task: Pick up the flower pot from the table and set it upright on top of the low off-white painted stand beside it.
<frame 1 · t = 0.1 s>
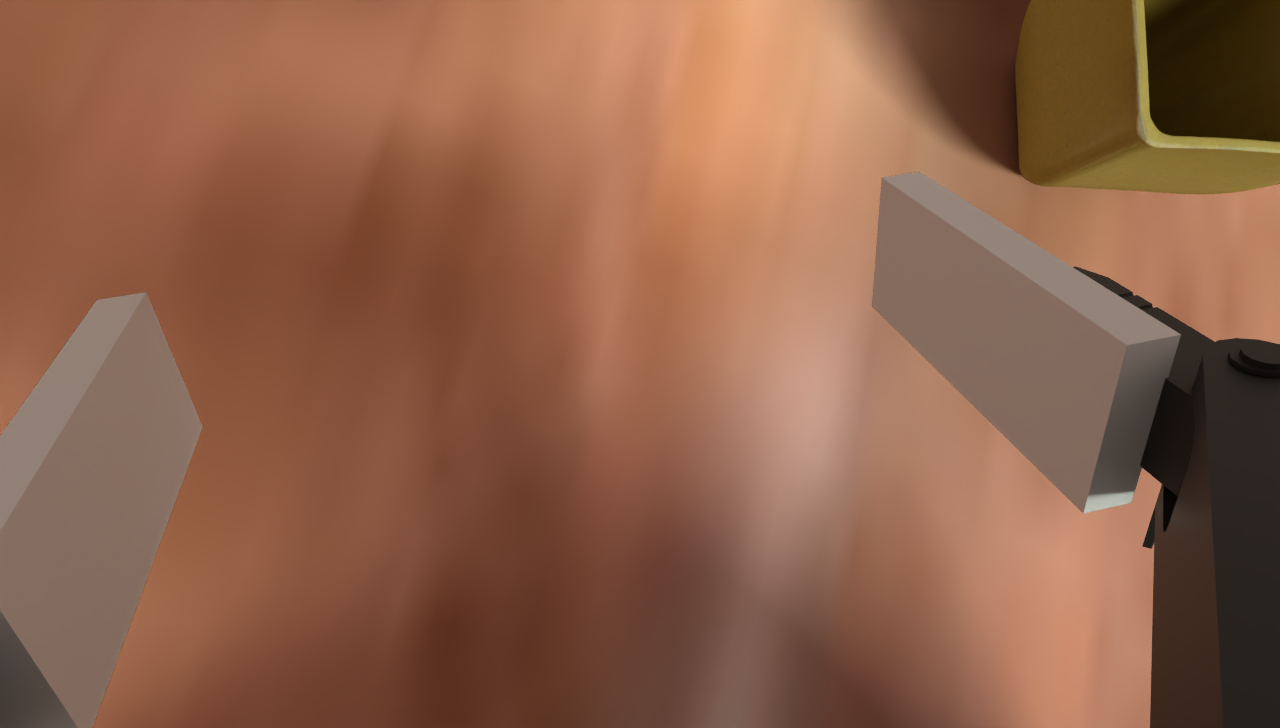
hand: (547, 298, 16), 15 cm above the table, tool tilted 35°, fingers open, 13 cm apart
flower pot: (1071, 124, 35), on the table
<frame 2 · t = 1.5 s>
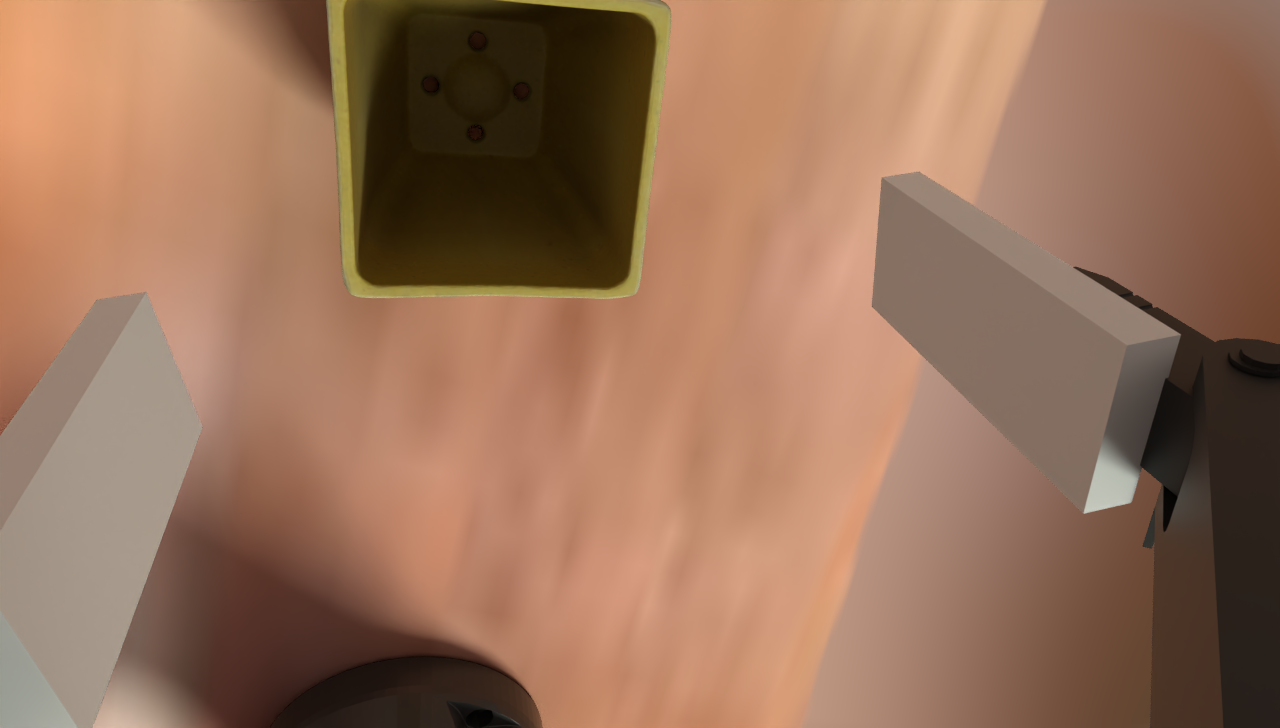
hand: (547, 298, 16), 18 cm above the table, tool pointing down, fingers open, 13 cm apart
flower pot: (480, 83, 31), on the table
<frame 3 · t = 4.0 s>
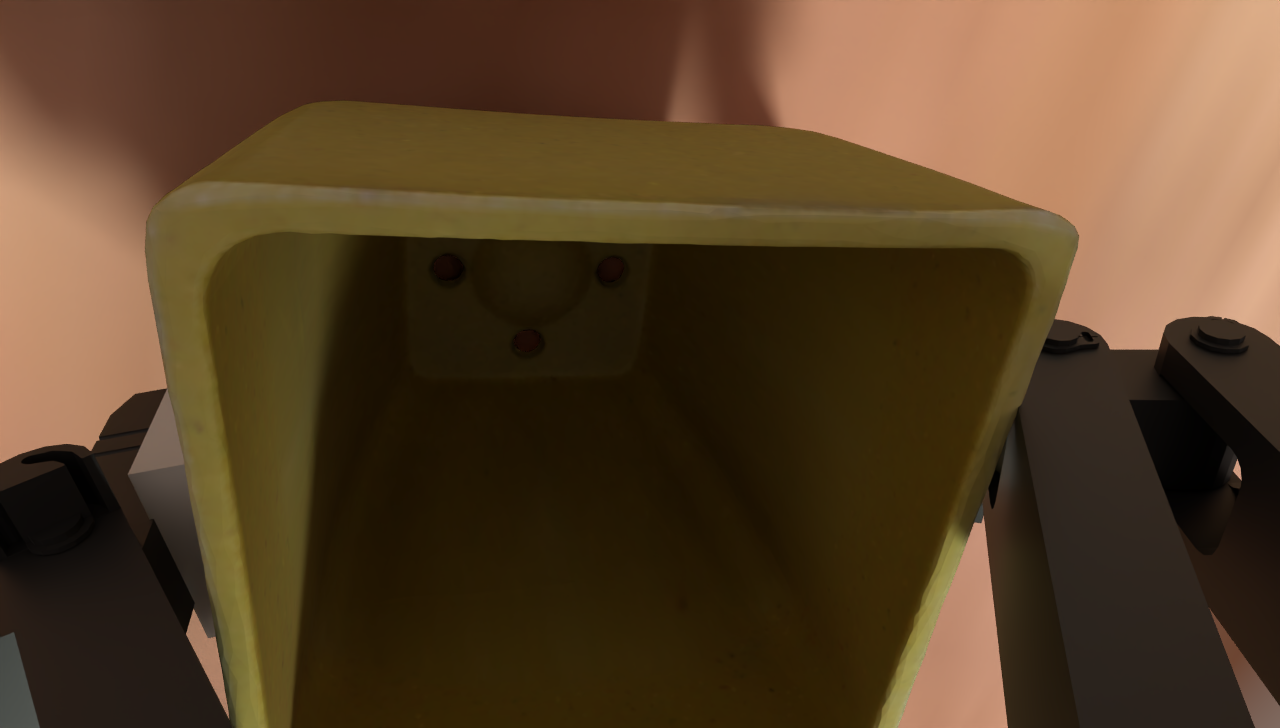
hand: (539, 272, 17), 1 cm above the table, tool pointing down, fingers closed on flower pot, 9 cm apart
flower pot: (535, 257, 17), on the table, touching gripper
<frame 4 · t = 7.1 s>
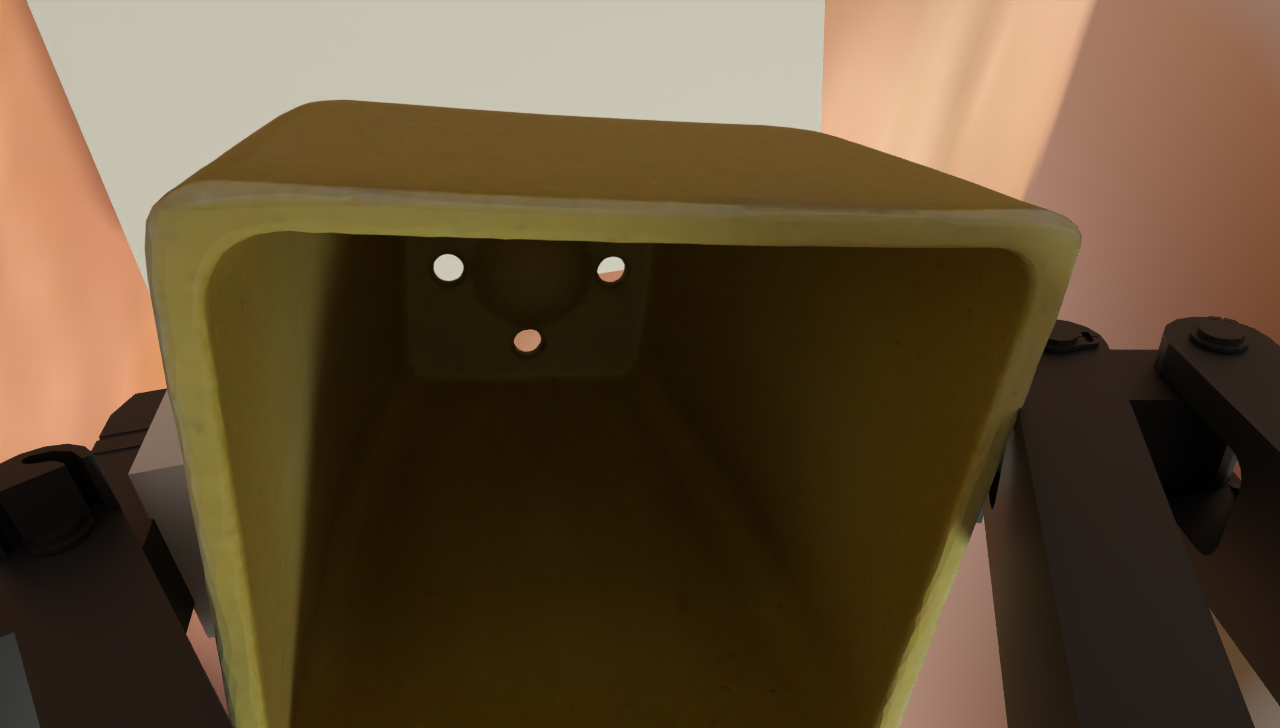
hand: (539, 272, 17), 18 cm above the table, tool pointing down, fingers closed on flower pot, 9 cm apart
flower pot: (536, 257, 17), point 17 cm above the table, touching gripper
white stand: (472, 72, 32), on the table
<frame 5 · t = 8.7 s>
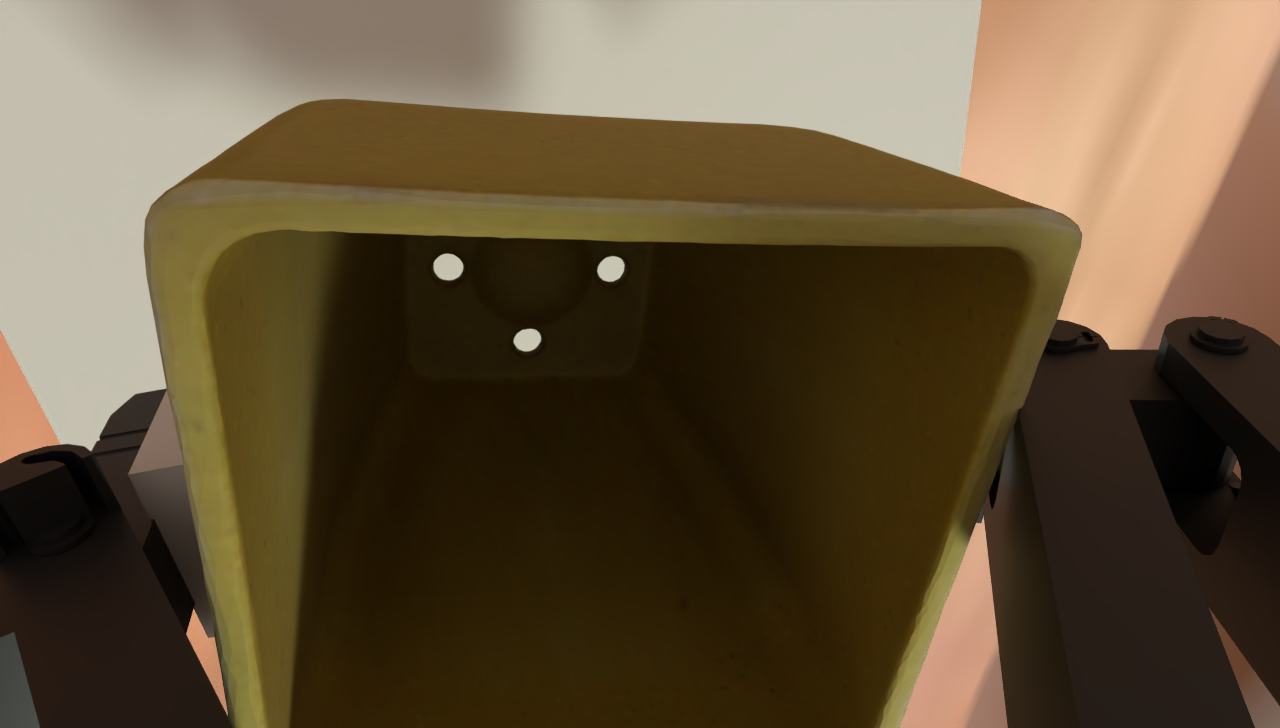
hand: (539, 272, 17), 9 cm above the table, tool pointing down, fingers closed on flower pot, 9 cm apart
flower pot: (536, 256, 17), point 8 cm above the table, touching gripper
white stand: (499, 148, 24), on the table
when the fingers open (6 cm above the table, at t = 10.2 s): flower pot drops 1 cm, resting on white stand.
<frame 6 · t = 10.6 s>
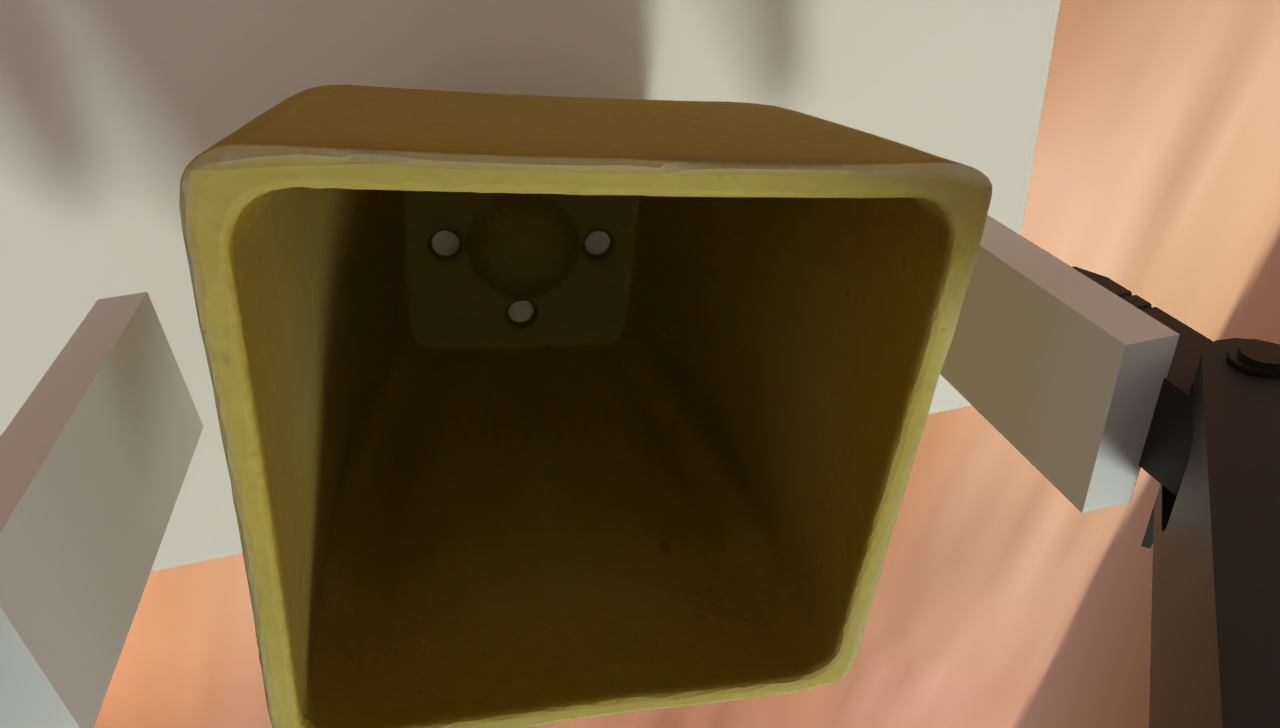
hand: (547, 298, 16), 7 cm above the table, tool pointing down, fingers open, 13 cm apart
flower pot: (527, 232, 19), point 4 cm above the table, touching white stand
white stand: (510, 175, 22), on the table
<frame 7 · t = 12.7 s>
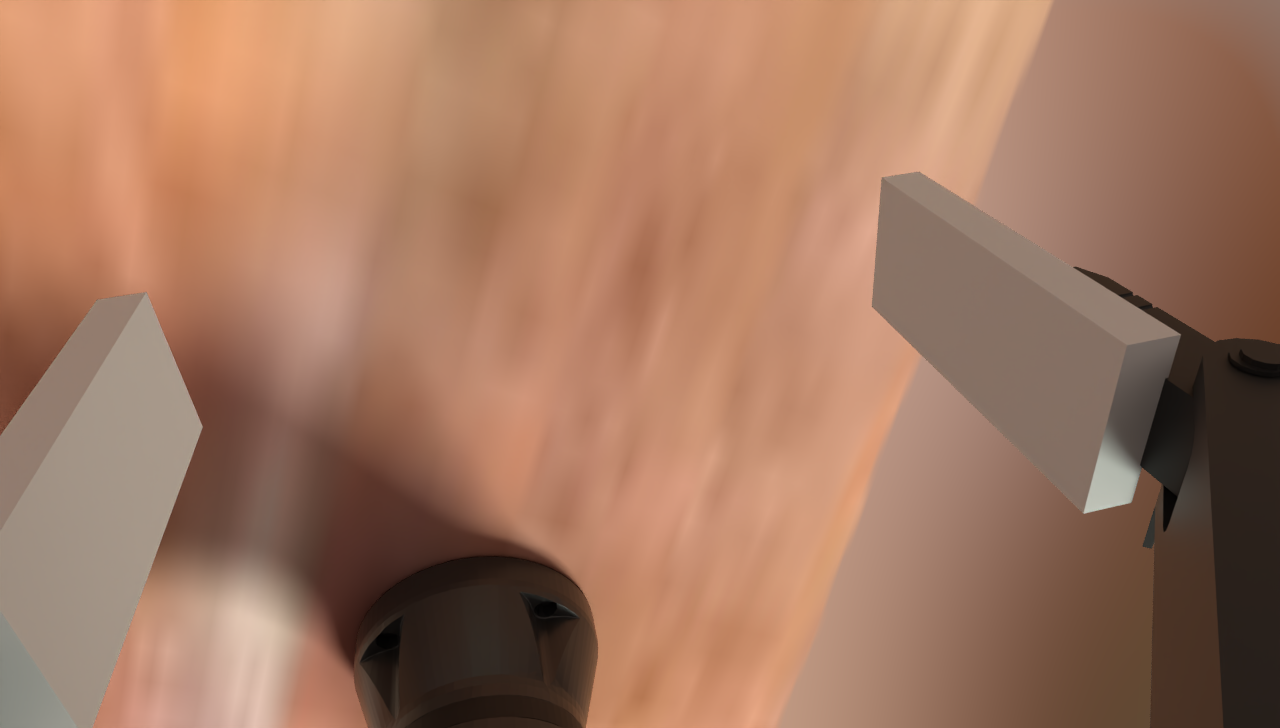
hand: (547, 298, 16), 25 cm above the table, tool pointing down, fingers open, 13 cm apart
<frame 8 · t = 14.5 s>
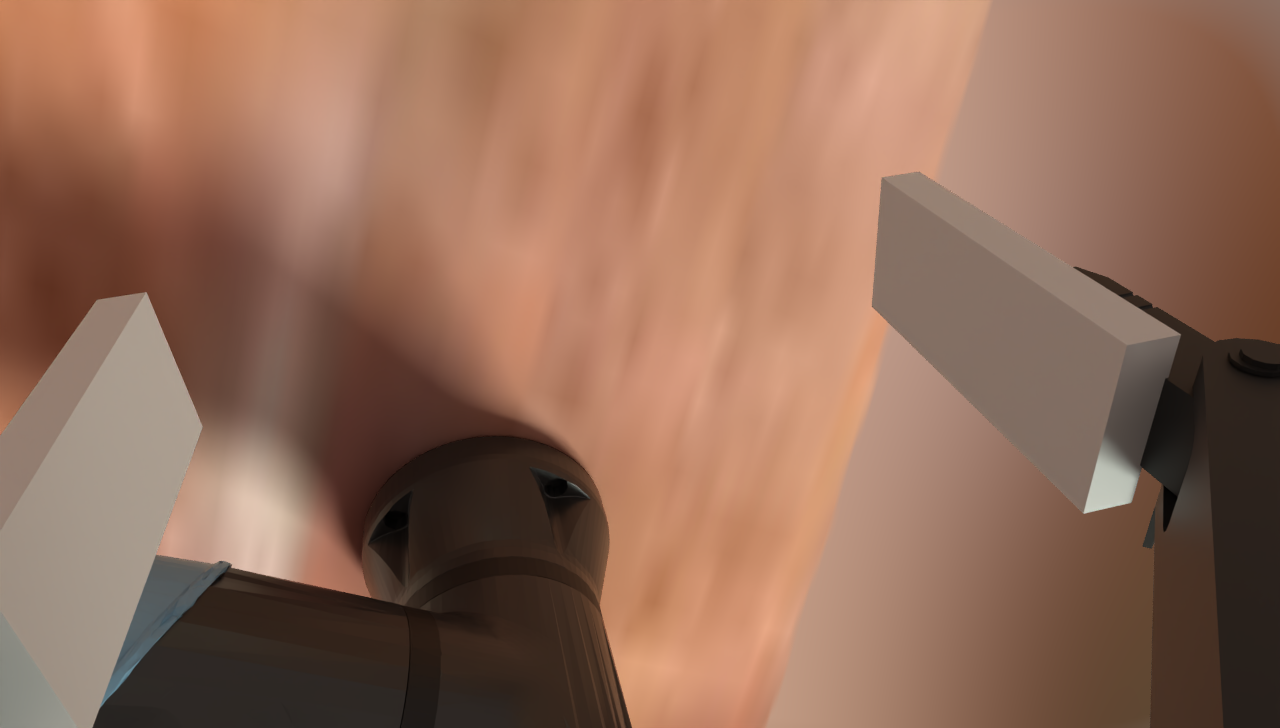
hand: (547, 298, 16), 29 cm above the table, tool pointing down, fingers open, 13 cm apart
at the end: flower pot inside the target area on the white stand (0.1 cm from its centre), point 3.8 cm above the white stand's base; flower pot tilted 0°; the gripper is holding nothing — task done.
